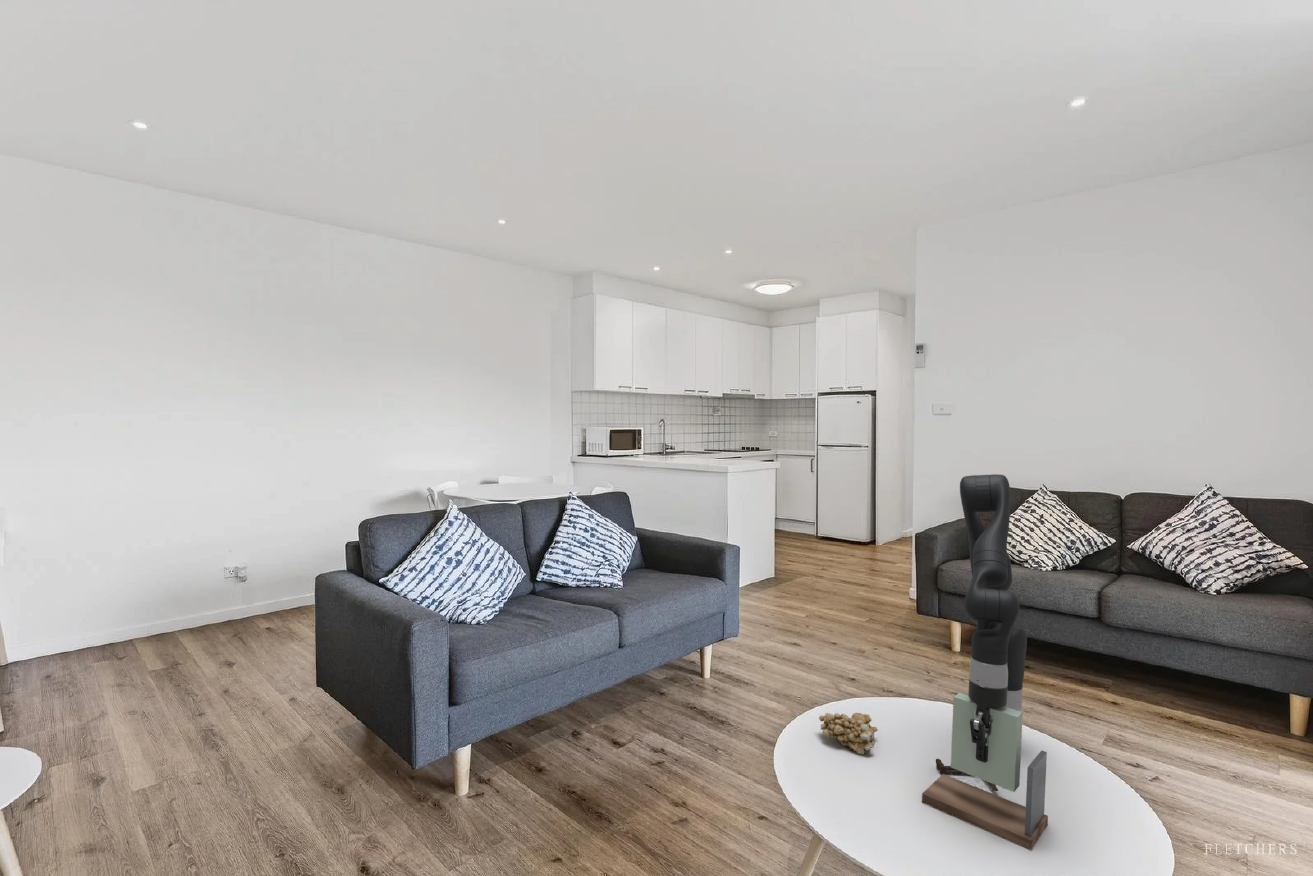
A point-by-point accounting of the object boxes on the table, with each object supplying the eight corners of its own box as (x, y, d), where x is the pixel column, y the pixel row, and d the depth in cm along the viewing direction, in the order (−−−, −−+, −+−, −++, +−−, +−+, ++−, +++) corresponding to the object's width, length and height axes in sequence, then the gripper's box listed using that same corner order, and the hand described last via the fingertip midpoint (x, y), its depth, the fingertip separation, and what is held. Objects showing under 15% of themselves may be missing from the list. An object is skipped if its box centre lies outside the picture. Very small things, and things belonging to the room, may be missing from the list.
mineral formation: (872, 760, 162) (812, 743, 168) (876, 745, 174) (820, 730, 180) (876, 727, 163) (816, 711, 169) (879, 715, 175) (823, 700, 181)
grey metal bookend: (1038, 814, 138) (1041, 750, 137) (1044, 816, 137) (1046, 752, 137) (1024, 835, 131) (1027, 767, 130) (1030, 837, 130) (1033, 769, 130)
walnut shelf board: (942, 782, 153) (943, 773, 153) (1047, 825, 137) (1047, 815, 137) (921, 802, 144) (922, 793, 144) (1031, 850, 129) (1031, 840, 129)
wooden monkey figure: (925, 742, 167) (983, 740, 165) (926, 758, 167) (984, 757, 166) (951, 781, 149) (1016, 779, 148) (952, 799, 149) (1017, 797, 148)
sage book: (956, 761, 147) (959, 692, 146) (1019, 786, 137) (1022, 712, 137) (950, 767, 144) (953, 696, 144) (1014, 792, 135) (1017, 717, 134)
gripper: (981, 667, 148) (978, 740, 148) (958, 683, 138) (954, 762, 138) (1017, 676, 143) (1013, 753, 143) (995, 694, 133) (992, 776, 133)
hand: (984, 757), depth 141 cm, fingers closed on sage book, 3 cm apart
